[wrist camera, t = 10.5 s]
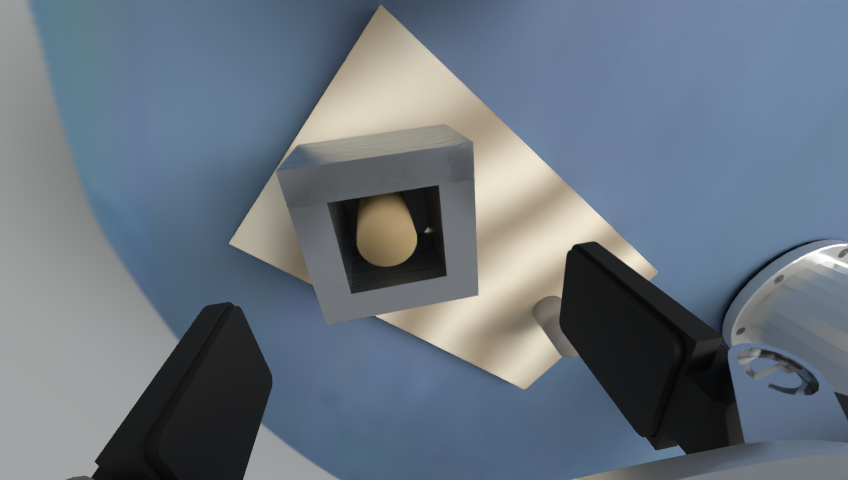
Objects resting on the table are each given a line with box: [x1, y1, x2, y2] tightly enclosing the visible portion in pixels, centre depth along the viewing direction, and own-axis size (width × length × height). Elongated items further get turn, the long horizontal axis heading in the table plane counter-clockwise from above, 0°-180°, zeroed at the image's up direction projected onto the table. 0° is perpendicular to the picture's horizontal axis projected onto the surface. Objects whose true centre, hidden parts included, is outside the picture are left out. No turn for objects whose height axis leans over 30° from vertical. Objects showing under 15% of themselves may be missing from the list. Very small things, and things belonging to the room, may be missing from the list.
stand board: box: [229, 4, 658, 390], centre depth 19 cm, size 25×14×7 cm, turn 51°
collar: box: [276, 124, 479, 325], centre depth 15 cm, size 7×7×4 cm
